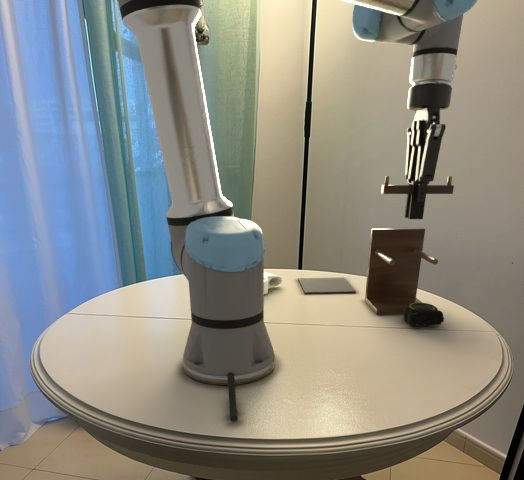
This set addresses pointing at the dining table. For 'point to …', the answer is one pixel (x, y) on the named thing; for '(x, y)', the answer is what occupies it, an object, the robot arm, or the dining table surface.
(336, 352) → the dining table surface
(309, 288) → the mat
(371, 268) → the rack
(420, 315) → the tape measure
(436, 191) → the hanger
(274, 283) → the white brass knuckles
